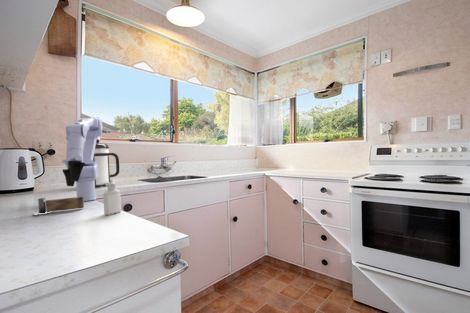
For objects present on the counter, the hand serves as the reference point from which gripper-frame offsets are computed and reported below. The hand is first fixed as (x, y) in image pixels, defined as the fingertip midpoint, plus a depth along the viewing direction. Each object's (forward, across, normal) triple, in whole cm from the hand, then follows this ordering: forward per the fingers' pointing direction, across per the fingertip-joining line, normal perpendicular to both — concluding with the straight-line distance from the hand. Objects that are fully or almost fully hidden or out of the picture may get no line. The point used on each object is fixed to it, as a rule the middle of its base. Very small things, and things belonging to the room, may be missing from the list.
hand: (72, 183), depth 94 cm
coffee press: (-16, -58, +27) cm, 66 cm away
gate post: (+10, -4, -8) cm, 14 cm away
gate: (+10, -2, -1) cm, 10 cm away
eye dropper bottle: (+15, +16, +10) cm, 24 cm away
